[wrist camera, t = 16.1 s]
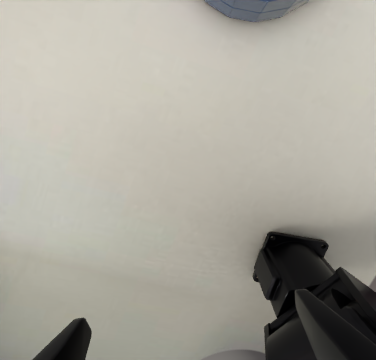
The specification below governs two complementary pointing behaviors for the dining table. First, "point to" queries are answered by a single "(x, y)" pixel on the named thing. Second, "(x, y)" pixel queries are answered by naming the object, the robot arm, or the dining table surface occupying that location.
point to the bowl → (255, 8)
